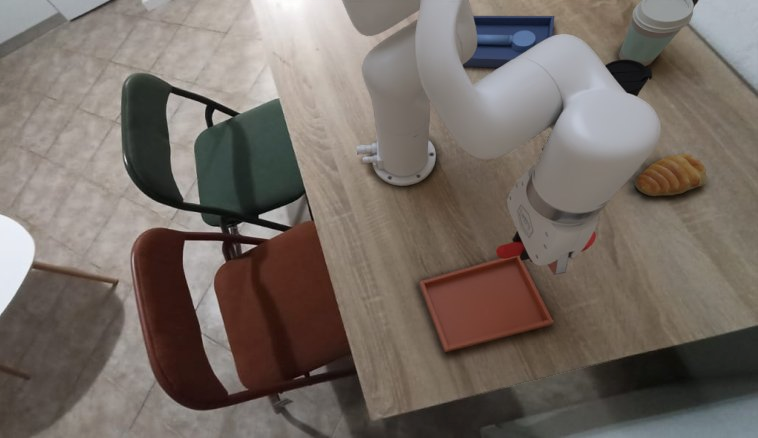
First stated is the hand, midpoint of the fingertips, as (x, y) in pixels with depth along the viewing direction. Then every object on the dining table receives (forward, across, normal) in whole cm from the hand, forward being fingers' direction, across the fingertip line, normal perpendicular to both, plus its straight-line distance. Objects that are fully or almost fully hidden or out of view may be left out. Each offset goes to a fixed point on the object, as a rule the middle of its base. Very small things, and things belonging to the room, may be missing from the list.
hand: (527, 247), depth 63 cm
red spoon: (0, 0, +2) cm, 2 cm away
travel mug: (+15, -21, +21) cm, 33 cm away
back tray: (+15, -50, +18) cm, 55 cm away
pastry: (+15, -10, +31) cm, 36 cm away
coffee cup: (+15, -37, +38) cm, 56 cm away
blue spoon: (+15, -50, +17) cm, 55 cm away
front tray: (+15, +3, -6) cm, 17 cm away
